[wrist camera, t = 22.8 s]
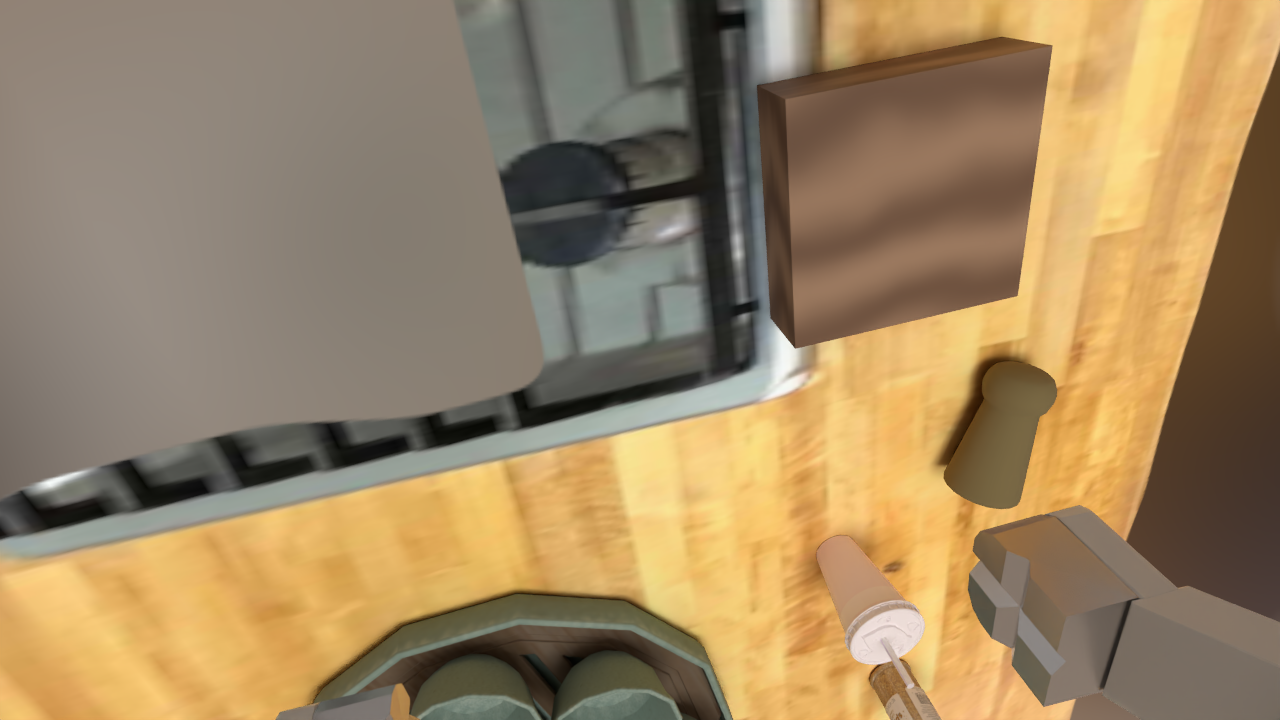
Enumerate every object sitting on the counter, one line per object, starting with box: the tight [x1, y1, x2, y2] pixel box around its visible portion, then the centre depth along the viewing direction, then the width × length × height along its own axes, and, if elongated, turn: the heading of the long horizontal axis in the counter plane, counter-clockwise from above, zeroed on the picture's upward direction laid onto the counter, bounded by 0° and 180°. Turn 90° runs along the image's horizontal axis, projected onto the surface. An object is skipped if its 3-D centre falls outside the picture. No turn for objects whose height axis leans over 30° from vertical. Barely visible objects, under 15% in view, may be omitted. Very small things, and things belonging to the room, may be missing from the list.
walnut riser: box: [757, 37, 1052, 349], centre depth 47 cm, size 16×16×5 cm
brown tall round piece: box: [944, 361, 1057, 509], centre depth 58 cm, size 6×6×11 cm
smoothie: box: [816, 535, 925, 688], centre depth 59 cm, size 6×6×14 cm
